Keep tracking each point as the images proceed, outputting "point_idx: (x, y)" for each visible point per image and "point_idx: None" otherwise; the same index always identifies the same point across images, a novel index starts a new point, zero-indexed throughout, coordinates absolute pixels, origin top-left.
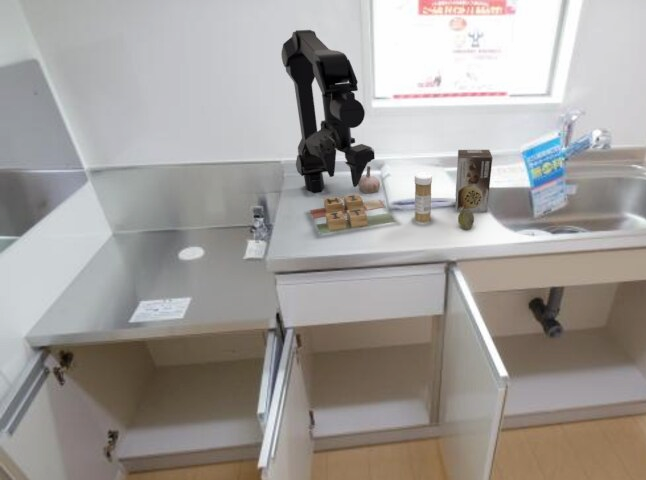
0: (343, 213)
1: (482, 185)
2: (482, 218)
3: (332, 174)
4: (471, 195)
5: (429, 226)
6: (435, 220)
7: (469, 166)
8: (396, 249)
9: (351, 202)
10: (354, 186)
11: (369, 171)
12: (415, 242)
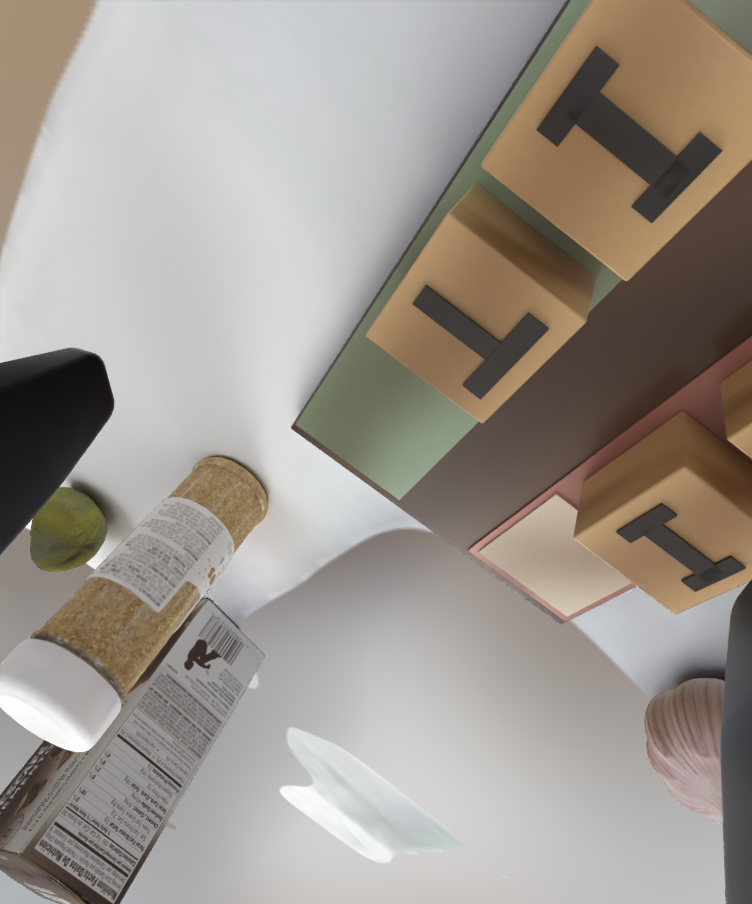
0: (715, 372)
1: None
2: None
3: (747, 623)
4: None
5: (179, 458)
6: None
7: (32, 800)
8: (71, 139)
9: (652, 483)
10: (64, 350)
11: None
12: (87, 283)
